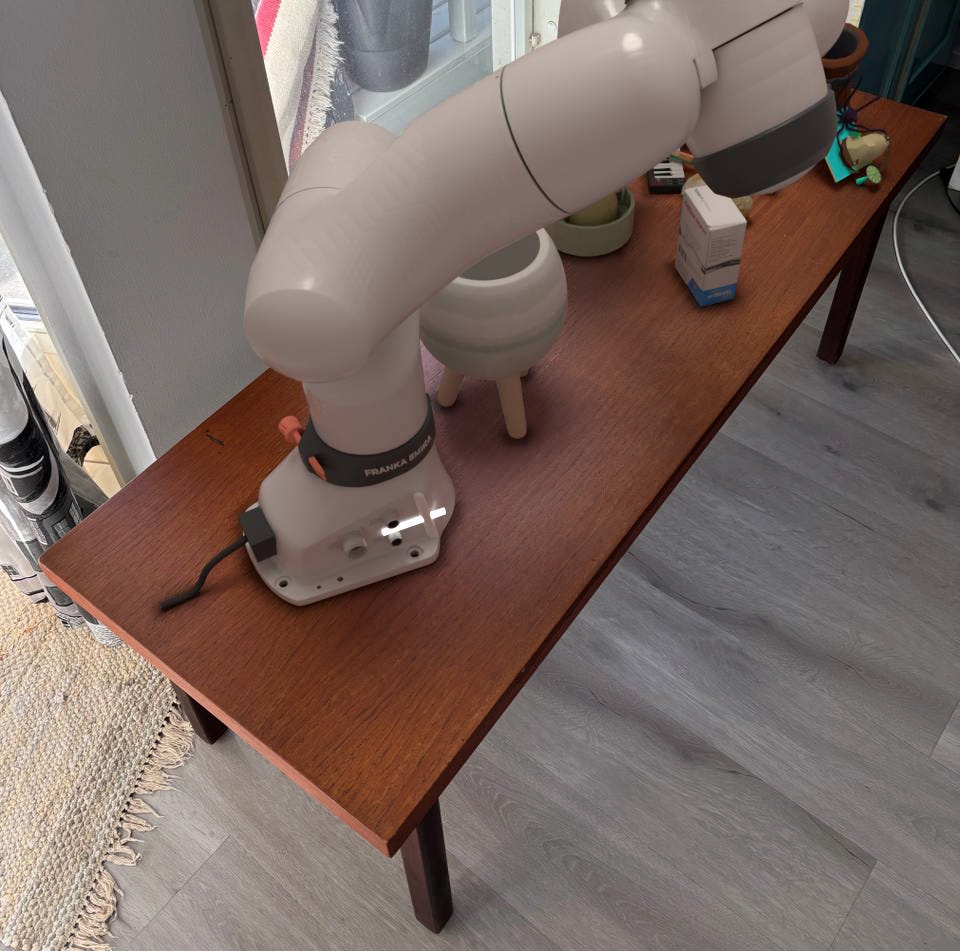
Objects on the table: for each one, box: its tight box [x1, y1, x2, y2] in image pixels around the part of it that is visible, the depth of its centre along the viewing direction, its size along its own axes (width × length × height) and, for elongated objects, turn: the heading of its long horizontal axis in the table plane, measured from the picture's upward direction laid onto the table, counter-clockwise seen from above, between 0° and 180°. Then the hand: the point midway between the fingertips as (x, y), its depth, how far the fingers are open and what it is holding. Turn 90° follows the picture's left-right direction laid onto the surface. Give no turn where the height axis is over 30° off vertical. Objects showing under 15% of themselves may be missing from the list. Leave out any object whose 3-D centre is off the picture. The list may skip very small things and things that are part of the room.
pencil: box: [669, 150, 775, 195], centre depth 137 cm, size 1×1×18 cm
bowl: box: [544, 186, 635, 257], centre depth 130 cm, size 12×12×5 cm
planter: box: [420, 228, 569, 439], centre depth 104 cm, size 16×16×22 cm
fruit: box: [568, 192, 617, 226], centre depth 128 cm, size 8×7×8 cm
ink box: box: [674, 185, 748, 308], centre depth 119 cm, size 9×5×12 cm, turn 14°
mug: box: [821, 22, 870, 111], centre depth 135 cm, size 18×12×15 cm, turn 143°
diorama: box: [824, 73, 892, 186], centre depth 133 cm, size 11×15×6 cm
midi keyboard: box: [646, 147, 687, 194], centre depth 141 cm, size 18×1×5 cm
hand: (588, 210), depth 129 cm, fingers closed on fruit, 7 cm apart
